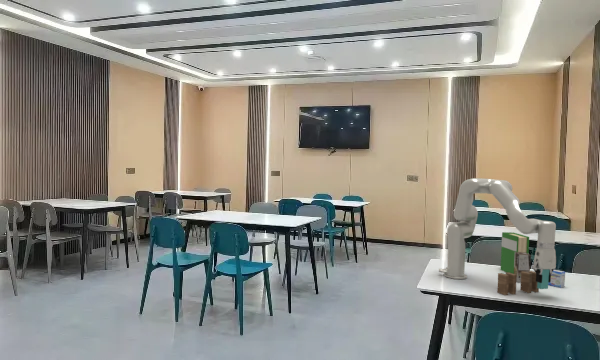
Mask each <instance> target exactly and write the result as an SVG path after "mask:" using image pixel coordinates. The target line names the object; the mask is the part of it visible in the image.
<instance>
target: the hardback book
mask: <svg viewBox="0 0 600 360" xmlns="http://www.w3.org/2000/svg"><path fill="white" fill-rule="evenodd" d="M529 248H530V236H527V235H525V234H521V233H517V232H512V231H511V232H506V231H504V232H502V233H501V253H500V271H502V272H504V273H505V274H506V273H508V272H509V273H513V274H514V256H515V252H525V253H528V254H529V255H530V253H529V251H530V249H529Z"/></svg>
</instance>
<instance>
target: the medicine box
mask: <svg viewBox="0 0 600 360" xmlns="http://www.w3.org/2000/svg"><path fill="white" fill-rule="evenodd" d="M565 282H566V271H564V270H559V269H554V270H553V272H552V274H551V281H550V282H548V286H549V287H555V288H560V289H563V288H565Z"/></svg>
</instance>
